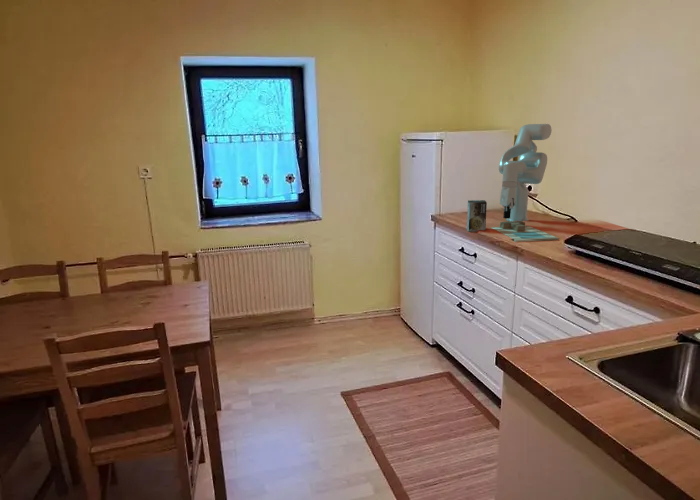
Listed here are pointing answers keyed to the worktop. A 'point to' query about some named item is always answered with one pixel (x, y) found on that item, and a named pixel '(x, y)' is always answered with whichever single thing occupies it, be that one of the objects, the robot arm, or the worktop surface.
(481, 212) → the coffee box
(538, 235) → the board
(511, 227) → the t block
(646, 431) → the worktop surface
